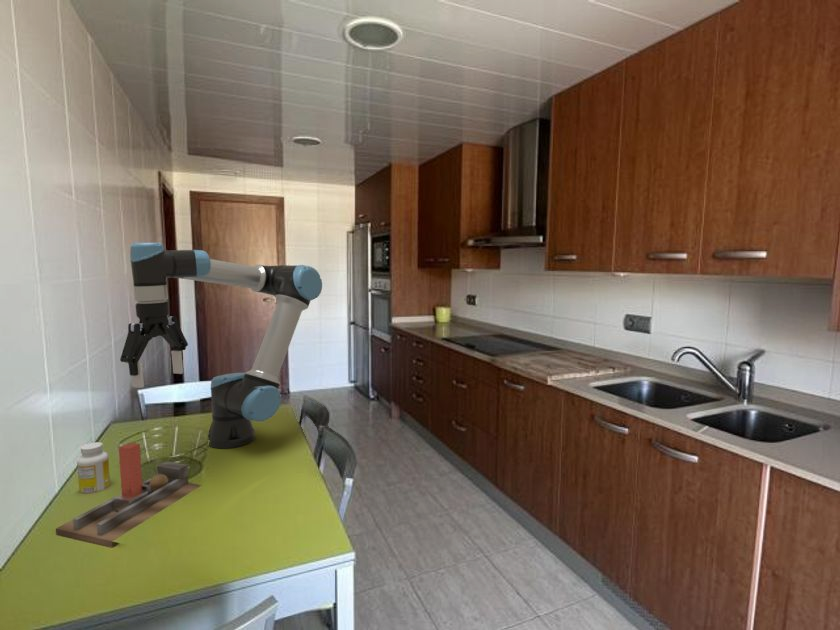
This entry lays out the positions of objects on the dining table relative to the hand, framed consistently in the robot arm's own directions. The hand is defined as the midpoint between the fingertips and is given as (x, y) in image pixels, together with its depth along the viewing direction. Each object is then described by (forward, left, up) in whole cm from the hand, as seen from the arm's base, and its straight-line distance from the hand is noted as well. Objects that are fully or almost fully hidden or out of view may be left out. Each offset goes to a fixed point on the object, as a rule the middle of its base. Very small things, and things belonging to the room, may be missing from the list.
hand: (159, 379), depth 122 cm
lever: (+15, +5, -27) cm, 31 cm away
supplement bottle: (+10, -13, -29) cm, 33 cm away
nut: (+7, +5, -27) cm, 29 cm away
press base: (+14, +5, -29) cm, 32 cm away
